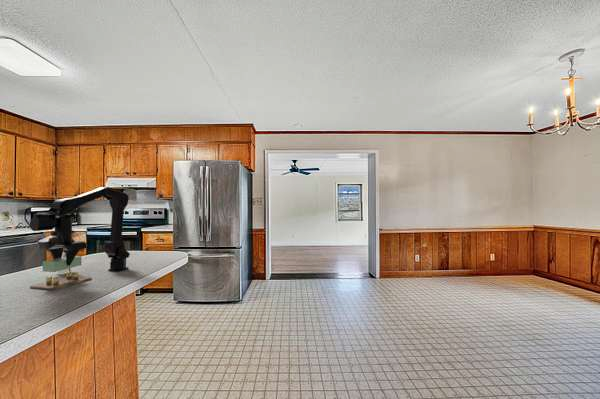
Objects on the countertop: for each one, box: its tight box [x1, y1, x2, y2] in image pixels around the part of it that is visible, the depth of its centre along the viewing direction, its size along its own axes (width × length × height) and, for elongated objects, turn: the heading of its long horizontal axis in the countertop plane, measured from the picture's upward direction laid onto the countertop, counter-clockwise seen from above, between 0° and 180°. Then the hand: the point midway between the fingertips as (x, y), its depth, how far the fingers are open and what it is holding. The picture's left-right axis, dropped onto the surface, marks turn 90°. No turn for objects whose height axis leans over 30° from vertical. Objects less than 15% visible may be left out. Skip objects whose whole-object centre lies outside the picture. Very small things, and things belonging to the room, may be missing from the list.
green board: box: [42, 255, 83, 273], centre depth 119 cm, size 12×6×4 cm, turn 173°
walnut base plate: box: [29, 271, 93, 292], centre depth 119 cm, size 16×12×4 cm
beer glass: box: [56, 247, 74, 276], centre depth 135 cm, size 7×7×15 cm
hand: (63, 265), depth 119 cm, fingers closed on green board, 6 cm apart
